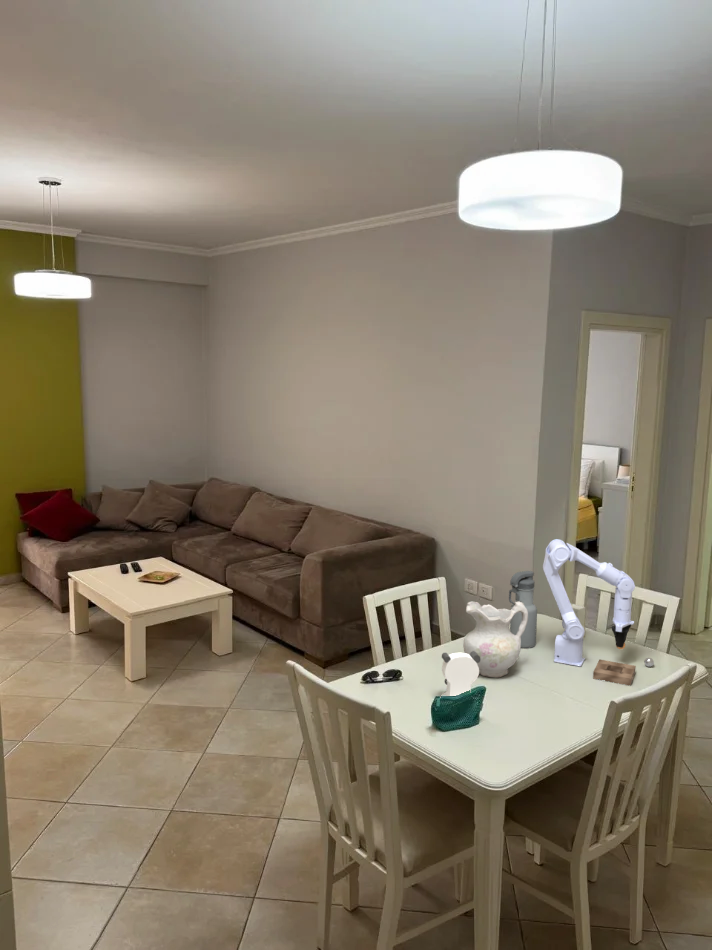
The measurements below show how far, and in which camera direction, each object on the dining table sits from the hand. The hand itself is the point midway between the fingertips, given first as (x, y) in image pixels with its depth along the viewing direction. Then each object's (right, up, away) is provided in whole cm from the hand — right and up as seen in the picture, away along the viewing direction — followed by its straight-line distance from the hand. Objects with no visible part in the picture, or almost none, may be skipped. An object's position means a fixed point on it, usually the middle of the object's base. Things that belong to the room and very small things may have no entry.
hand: (620, 645), depth 257 cm
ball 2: (+9, -6, -2) cm, 11 cm away
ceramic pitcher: (-46, -8, -5) cm, 47 cm away
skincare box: (-8, -3, +27) cm, 29 cm away
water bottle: (-30, -4, +19) cm, 36 cm away
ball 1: (0, 0, 0) cm, 0 cm away
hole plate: (-6, -8, -10) cm, 14 cm away
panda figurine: (-61, -11, -28) cm, 68 cm away
